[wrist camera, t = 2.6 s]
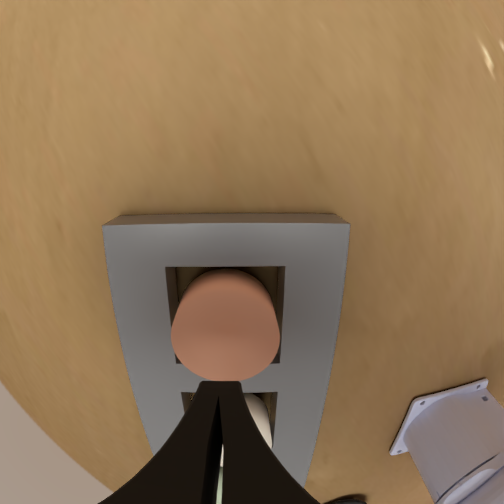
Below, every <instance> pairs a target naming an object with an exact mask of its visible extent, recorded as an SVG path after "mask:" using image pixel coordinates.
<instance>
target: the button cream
mask: <svg viewBox="0 0 504 504" xmlns="http://www.w3.org/2000/svg"><path fill="white" fill-rule="evenodd" d="M243 394H244V398H245V401H246V403H247V406H248V408H249V411H250V413H251V415H252V417H253V419H254V421H255V423H256V425H257V427H258V429H259V431H260V433H261V434H262V436H263V438H264V439H265V441H266V443H267V444H268V446H269V447H270V449H271V448H272V439H271V432H270V424H269V416H268V410H267V407H266V405H265V403H264V402H263V401H262V400H261V399H260V398H258V397H257V396H255V395H254V394H251V393H243ZM220 466H222V467H223V447H222V455H221V464H220Z"/></svg>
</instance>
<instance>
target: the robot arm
mask: <svg viewBox="0 0 504 504" xmlns="http://www.w3.org/2000/svg"><path fill="white" fill-rule="evenodd" d="M487 384H488V380H487V379H482V380H479V381H476V382H473V383H470V384H467V385H463V386H460V387H457V388H453V389H450V390H446V391H443V392H439V393H435V394H431V395H427V396H423V397H419V398H416V399H414V400H413V402H412V403H411V406H410V408H409V411H408V413H407V415H406V418H405V420H404V422H403V424H402V427H401V429H400V431H399V433H398V435H397V437H396V439H395V441H394V443H393V446H392V448H391V450H390V452H389V453H390V455H397V454H400V453H404V452H408V451H409V453H410V455H411V457H412V459H413V461H414V463H415V465H416V467H417V469H418V471H419V473H420V475H421V477H422V479H423V481H424V483H425V485H426V487H427V489H428V491H429V493H430V495H431V497H432V499H433V502H434V504H504V408H503V407H502V406H501V405H500V404H499V403H498V401H497V400H496V399H495V398H494V397H493V396H492V395H491V393H490V392H489V391H488V390H487V389H486V386H487ZM222 447H223V476H222V500H221V504H320V503H319V502H318V501H317V500H315V499H314V498H313V497H312V496H311V495H310V494H309V493H308V492H307V491H306V490H305V489H304V488H303V487H302V486H301V485H300V484H299V483H298V482H297V481H296V480H295V479H294V478H293V477H292V476H291V475H290V473H289V472H288V471H287V470H286V469H285V467H284V466H283V465H282V464H281V462H280V461H279V460H278V459H277V457H276V456H275V454H274V453H273V452H272V450H271V449H270V447H269V446H268V444H267V443H266V441H265V439H264V438H263V436H262V434H261V433H260V431H259V429H258V427H257V425H256V423H255V421H254V419H253V417H252V415H251V413H250V411H249V408H248V406H247V403H246V401H245V398H244V394H243V391H242V386H241V383H240V382H239V381H201V382H200V383H199V386H198V388H197V391H196V393H195V395H194V397H193V399H192V401H191V403H190V405H189V407H188V409H187V410H186V412H185V414H184V415H183V417H182V419H181V420H180V422H179V424H178V425H177V427H176V428H175V429H174V431H173V432H172V434H171V435H170V437H169V438H168V439H167V441H166V442H165V443H164V445H163V446H162V447H161V448H160V450H159V451H158V452H157V453H156V454H155V455H154V457H153V458H152V459H151V460H150V461H149V462H148V463H147V464H146V465H145V466H144V467H143V468H142V469H141V470H140V471H139V472H138V473H137V474H136V475H135V476H134V477H133V478H132V479H130V480H129V481H128V482H127V483H126V484H124V485H123V486H122V487H121V488H119V489H118V490H117V491H115V492H114V493H113V494H112V495H110V496H109V497H107V498H106V499H105V500H103V501H101V502H100V503H98V504H216V502H217V490H218V481H219V473H220V464H221V455H222Z"/></svg>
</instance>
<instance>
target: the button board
mask: <svg viewBox="0 0 504 504" xmlns="http://www.w3.org/2000/svg"><path fill="white" fill-rule="evenodd" d="M102 228H103V238H104V247H105V255H106V263H107V270H108V277H109V283H110V289H111V295H112V301H113V307H114V312H115V317H116V323H117V327H118V332H119V337H120V342H121V346H122V350H123V355H124V359H125V363H126V367H127V371H128V375H129V379H130V382H131V386H132V390H133V393H134V397H135V400H136V404H137V407H138V410H139V414H140V417H141V420H142V423H143V426H144V429H145V432H146V435H147V438H148V441H149V444H150V447H151V450H152V453H153V455H155V454H156V453H157V452H158V451H159V450H160V448H161V447H162V446H163V445H164V443H165V442H166V441H167V439H168V438H169V437H170V435H171V434H172V432H173V431H174V429H175V428H176V427H177V425H178V424H179V422H180V420H181V419H182V417H183V415H184V414H185V412H186V410H187V409H188V407H189V405H190V403H191V401H190V395H189V392H196V391H197V388H198V386H199V383H200V382H201V381H212V380H208V379H205V378H203V377H200V376H198V375H196V374H195V373H193V372H192V371H190V370H189V369H188V368H186V367H185V366H184V365H183V364H182V363H181V361H180V360H179V359H178V357H177V356H176V354H175V352H174V349H173V347H172V342H171V328H172V324H173V321H174V318H175V315H176V312H177V309H178V307H179V305H178V294H177V282H176V270H175V267H233V266H278V286H277V309H276V319H277V323H278V328H279V333H280V343H279V348H278V351H277V353H276V356H275V357H274V359H273V361H272V362H271V363H270V364H269V365H268V367H266V368H265V369H264V370H263V371H261V372H260V373H258V374H257V375H255V376H253V377H251V378H248V379H245V380H241V381H239V382H240V383H241V386H242V391H243V393H257V392H272V399H271V414H270V432H271V439H272V448H271V450H272V452H273V453H274V454H275V456H276V457H277V459H278V460H279V461H280V462H281V464H282V465H283V466H284V467H285V469H286V470H287V471H288V472H289V473H290V475H291V476H292V477H293V478H294V479H295V480H296V481H297V482H298V483H299V484H300V485H301V486H302V487H303V488H304V485H305V482H306V478H307V475H308V471H309V467H310V463H311V460H312V456H313V452H314V448H315V444H316V440H317V435H318V431H319V427H320V423H321V418H322V414H323V409H324V404H325V399H326V395H327V390H328V385H329V379H330V374H331V369H332V363H333V357H334V352H335V346H336V339H337V333H338V327H339V320H340V313H341V306H342V298H343V290H344V282H345V274H346V264H347V255H348V244H349V233H350V223H348V222H347V221H345V220H344V219H342V218H340V217H339V216H337V215H336V214H301V213H204V214H156V215H125V216H118V217H116V218H115V219H113V220H111V221H109V222H108V223H106V224H104V225H102Z"/></svg>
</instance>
